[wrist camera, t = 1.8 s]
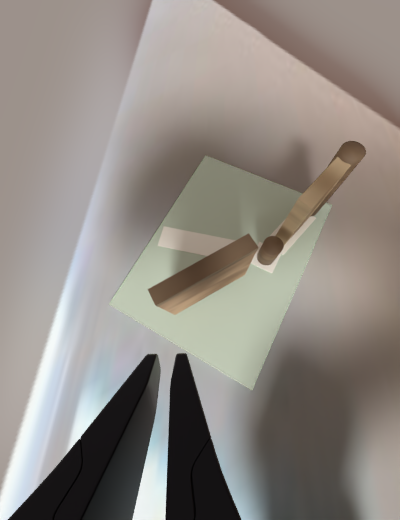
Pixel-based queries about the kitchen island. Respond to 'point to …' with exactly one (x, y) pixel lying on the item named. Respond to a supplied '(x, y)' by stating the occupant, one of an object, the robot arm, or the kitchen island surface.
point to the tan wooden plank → (204, 276)
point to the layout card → (239, 291)
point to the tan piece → (313, 199)
